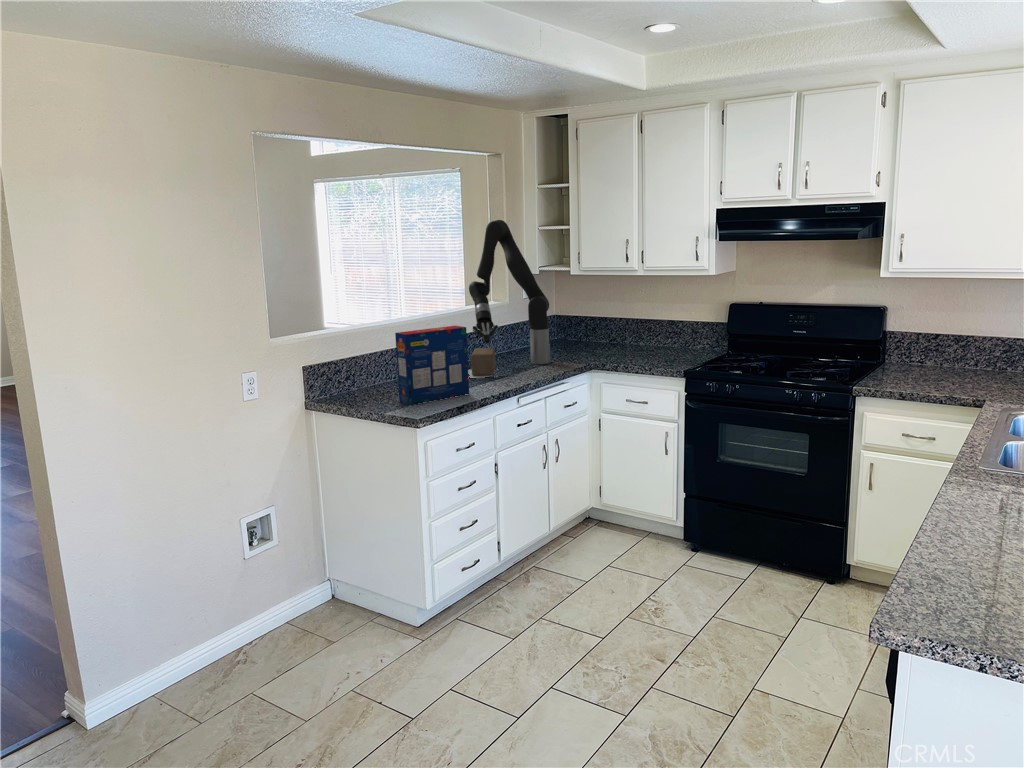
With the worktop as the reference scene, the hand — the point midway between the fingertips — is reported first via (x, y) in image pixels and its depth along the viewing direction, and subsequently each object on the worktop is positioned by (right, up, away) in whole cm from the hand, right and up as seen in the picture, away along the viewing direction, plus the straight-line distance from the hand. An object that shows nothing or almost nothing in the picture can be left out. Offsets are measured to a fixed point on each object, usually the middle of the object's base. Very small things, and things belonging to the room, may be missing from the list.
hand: (487, 342), depth 370 cm
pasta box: (-19, -26, -59) cm, 68 cm away
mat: (+1, -15, -9) cm, 18 cm away
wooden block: (-1, -7, +2) cm, 8 cm away
